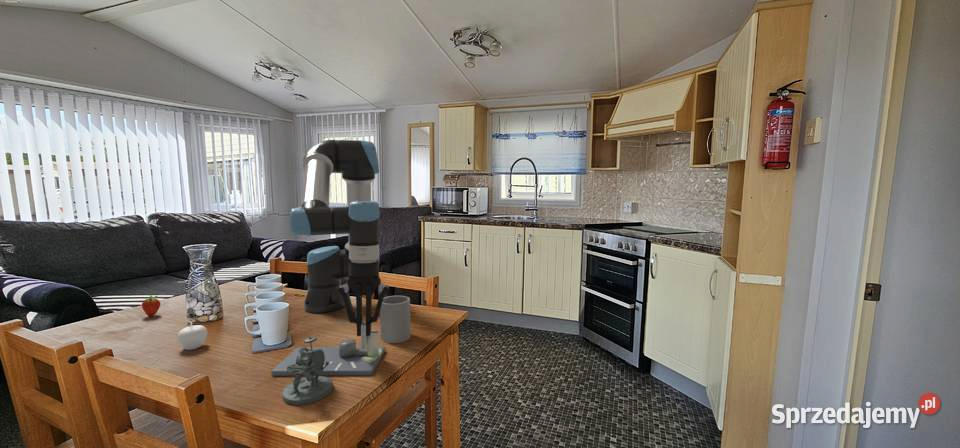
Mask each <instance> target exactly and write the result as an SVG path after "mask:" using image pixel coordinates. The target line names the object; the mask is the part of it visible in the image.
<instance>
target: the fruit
mask: <svg viewBox="0 0 960 448" xmlns="http://www.w3.org/2000/svg"><path fill="white" fill-rule="evenodd" d="M141 307H142V310H143V312H144V313H145V314H146V316H148V317H153V316H155V315H156V314H157V313H158V311H159V310H160V307H161V301H160V300H159V299H158V295H155V296H153V295H151V294H150V297H144V299H142V302H141Z"/></svg>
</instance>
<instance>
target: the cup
mask: <svg viewBox="0 0 960 448" xmlns="http://www.w3.org/2000/svg"><path fill="white" fill-rule="evenodd" d="M379 317H380V318H379V319H380V322H379V323H380V340H381V341H382V342H384V343H387V344H399V343H402V342H406V341H408V340H409V339H411V336H412V331H411V330H412V329H411V325H412V324H411V299H410V297H409V296H405V295H390V296H389V295H388V296H386V297H385V296H384V298H383V302H382V305H381V309H380V312H379Z"/></svg>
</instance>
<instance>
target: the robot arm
mask: <svg viewBox="0 0 960 448" xmlns="http://www.w3.org/2000/svg"><path fill="white" fill-rule="evenodd" d="M377 153H378V152H377V149H376V145H375V143H374V142H372V141H366V140H357V139H356V140H355V139H354V140H353V139H352V140H351V139H349V140H348V139H342V140H341V139H327V140H323V141H320V142H318V143H317V144H315V145H313V146H312V147H310V148H309V150H307V152H306V153H305V155H304V157H303V158H302V170H303V172H304V177H303V185H302V192H301V200H300V206H299V207H294V208H291V210H290V211H289V224H290V225H289V226H290V231H291V232H290V233H292V234H293V235H294V236H306V237H307V236H308V237H310V236H322V235H323V236H324V235H325V236H326V235H344V234H345V235H347V234H348V241H347V243H345V245H344V249H340V247H339V246H338V245H330V246H322V247H319V248H315V249H312V250H310V251H309V252H308V253H307V255H306V256H307V257H306V266H307V286H308V287H307V288H308V289H307V292H306V296H305V299H304V302H303V310H304V311H306V312H308V313H313V314H315V313H316V314H317V313H320V314H321V313H328V312H335V311H337V310H340V309H341V310H342V309H343V308H344V307H345V310H346V314H347V317H348V321H349V323H351V324H355V325H356V336H357V337H360V347H361V349H366V347H367V336H370V334H371V330H372V324H373V323H377V321H378V320H379V317H380V309H381V305H382V302H383V298H385V295H386V294H387V293H388V292H389V287H390V285H388V284H384V283H383V282H382V280H381V278H380V255H381V253H380V252H381V251H380V241H379V240H380V239H379V238H380V217H381V215H380V214H381V213H380V205H379V203H378V202H377V201H372V186H371V185H372V182H374V180H375V179H376V175H377V174H379V173H380V165H379V159H378V154H377ZM332 174H341V179H343V180H344V182H345V183H346V202H347V206H332V207H331V206H330V197H331V196H330V195H331V194H330V193H331V191H330V188H331V187H330V186H331V175H332ZM341 280H347V281H346V283H345V284H342V285H341ZM377 289H378V291H379V292H380V293H379V296H378V300H377V304H376V307H375V310H374V314H373V315H372V312H373V311H372V305H373V304H372V302H373V301H372V300H373V294H374V293H375V292H376V291H377ZM350 290H351V291H352V292H353V294H354V295H355V300H356V301H355V303H356V304H355V305H356V307H355V308H356V311H354V307H353V303H352V300H351V296H350V292H349V291H350ZM363 296H365V321H363V320H364V318H363ZM355 312H356V314H355Z"/></svg>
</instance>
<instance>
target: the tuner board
mask: <svg viewBox="0 0 960 448" xmlns="http://www.w3.org/2000/svg"><path fill="white" fill-rule="evenodd" d="M302 347H303V346H302ZM302 347H301V346H297V347H296V348H295V349H294V350H293V351H292V352H291V353H290V354H289V355H287V356H286V357H285V358H284V359H283V360H282V361H281V362H279V364H278V365H276V366H275V367H274V368H273V369H272V370H271V372H270V373H271V376H273V377H274V376H275V377H278V376H279V377H280V376H282V377H285V376H287V377H289V376H294V377H296V374H297V373H289V372H287V369H286V368H287V367H288V366H289V365H292V364H295V363H296V359H297V356H298V355H299V354H300V352H299V350H300V349H301V348H302ZM305 347H306V346H305ZM306 348H307V349H308V350H311V346H307V347H306ZM312 349H313V350H317V349H321V350H322V351H323V352H324V355H325V362H324V366H325V363H326V362H329V364H328V365H327V366H326V367H325V368H324V369H323V371H324V372H322V371H321V372H317V373H318V376H372V375H373V374H374V372H375V370H376V368H377V366H378V364H379V363H380V361H381V360H382V357H383V356H384V353H385V351H386V347H385V346H379V354H377V355H375V356H369V355H353V356H351V357H340V356H339V346H312ZM356 349H361V346H356ZM366 349H367V346H366ZM324 366H323V367H324ZM313 375H314V376H317V374H313Z"/></svg>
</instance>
